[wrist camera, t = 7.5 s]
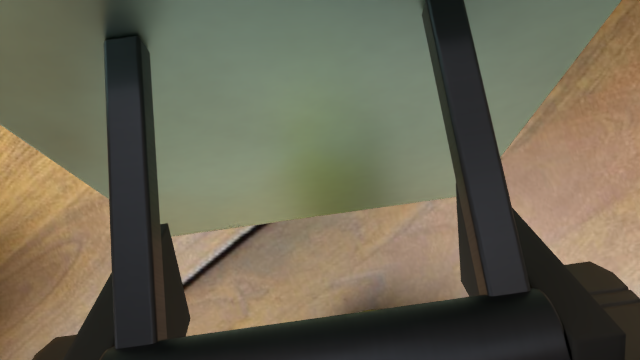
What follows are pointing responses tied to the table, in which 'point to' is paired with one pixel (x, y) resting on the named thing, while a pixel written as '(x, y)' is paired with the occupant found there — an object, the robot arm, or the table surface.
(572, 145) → the table surface
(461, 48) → the freezer lid
